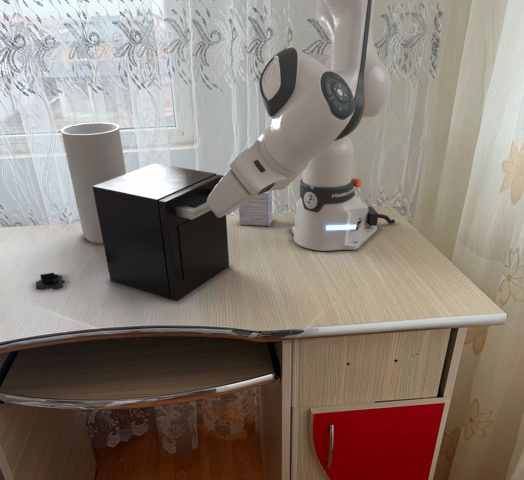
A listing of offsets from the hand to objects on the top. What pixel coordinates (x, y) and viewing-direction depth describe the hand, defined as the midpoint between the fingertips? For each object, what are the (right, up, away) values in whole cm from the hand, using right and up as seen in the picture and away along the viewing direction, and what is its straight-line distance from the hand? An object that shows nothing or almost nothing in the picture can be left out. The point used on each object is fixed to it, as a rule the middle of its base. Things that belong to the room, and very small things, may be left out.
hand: (228, 209), depth 99 cm
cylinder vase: (-32, +3, +35) cm, 48 cm away
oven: (-14, -9, +17) cm, 24 cm away
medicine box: (+5, +7, +41) cm, 41 cm away
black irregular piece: (-38, -12, +13) cm, 42 cm away
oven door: (-5, -12, +12) cm, 18 cm away
